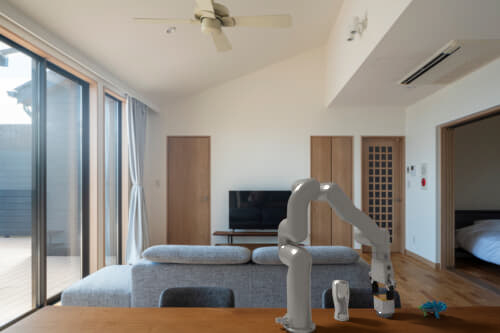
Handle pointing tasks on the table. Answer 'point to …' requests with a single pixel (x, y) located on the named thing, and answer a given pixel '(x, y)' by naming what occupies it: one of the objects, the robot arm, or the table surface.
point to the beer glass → (341, 299)
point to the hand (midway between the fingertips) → (382, 296)
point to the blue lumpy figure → (433, 307)
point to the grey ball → (384, 315)
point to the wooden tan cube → (383, 304)
